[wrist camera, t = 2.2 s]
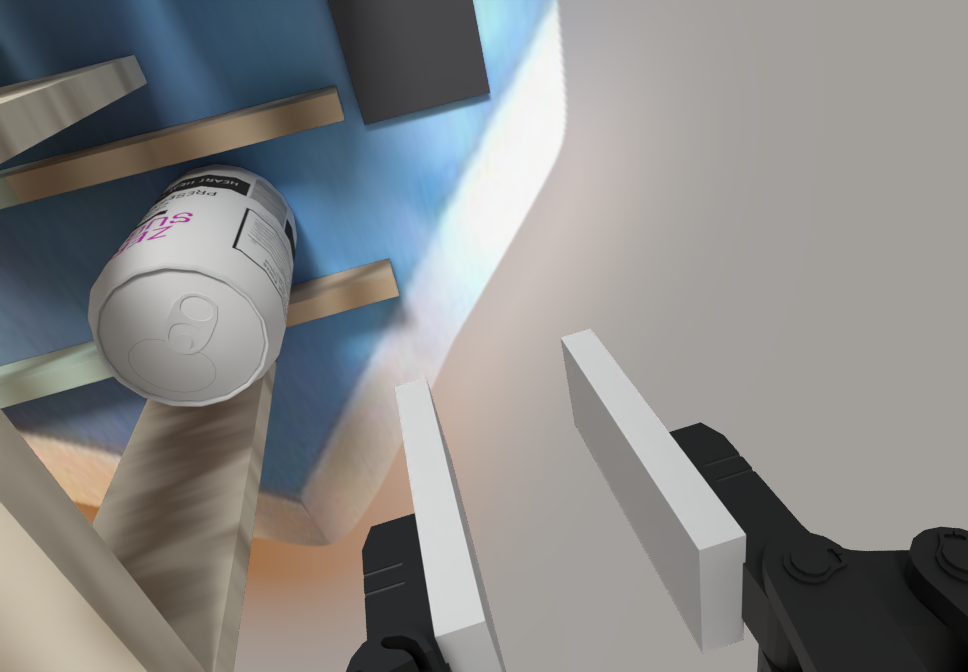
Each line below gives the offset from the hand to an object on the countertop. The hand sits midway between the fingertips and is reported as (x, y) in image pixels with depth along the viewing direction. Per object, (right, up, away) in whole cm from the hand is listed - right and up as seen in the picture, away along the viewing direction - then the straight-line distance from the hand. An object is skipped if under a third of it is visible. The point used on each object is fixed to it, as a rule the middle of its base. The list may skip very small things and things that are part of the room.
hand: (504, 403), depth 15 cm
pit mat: (-5, +19, +21) cm, 29 cm away
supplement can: (-17, +9, +25) cm, 31 cm away
